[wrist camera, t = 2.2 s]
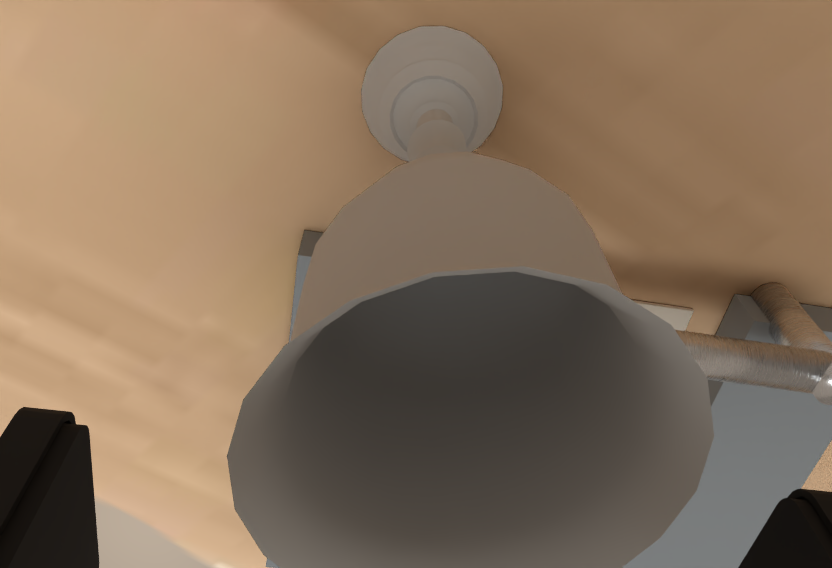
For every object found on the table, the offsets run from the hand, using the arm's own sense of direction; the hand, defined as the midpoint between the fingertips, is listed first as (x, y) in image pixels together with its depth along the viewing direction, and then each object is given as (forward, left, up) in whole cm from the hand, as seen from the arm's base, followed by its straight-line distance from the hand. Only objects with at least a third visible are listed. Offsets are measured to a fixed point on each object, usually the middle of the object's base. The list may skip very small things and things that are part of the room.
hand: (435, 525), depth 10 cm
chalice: (-1, 0, -19) cm, 19 cm away
